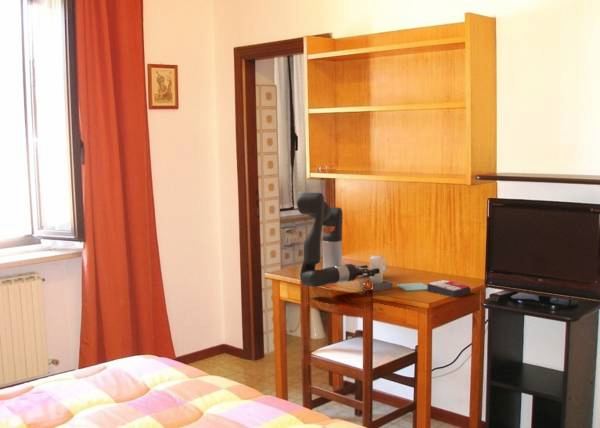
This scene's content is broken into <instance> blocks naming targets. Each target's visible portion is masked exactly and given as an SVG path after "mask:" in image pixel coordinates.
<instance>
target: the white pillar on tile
mask: <svg viewBox="0 0 600 428" xmlns="http://www.w3.org/2000/svg"><path fill="white" fill-rule="evenodd" d="M376 268H379V269H380V273H379V274H375V276H370V277H368V280H369V281H370V282H372V283H373V284H374V285H377V284H383V280H384V273H386V272H387V260H384V256H383V255H375V254H374V255H373V254H372V255H369V267H368V269H376Z"/></svg>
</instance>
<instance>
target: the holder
mask: <svg viewBox="0 0 600 428" xmlns="http://www.w3.org/2000/svg"><path fill="white" fill-rule="evenodd" d="M365 281H369V279H366V280H359V287H360V286H361V287H360V288H362V286H363V283H364V282H365ZM393 283H394V282H393V281H388V280H385V279H383V284H377V285H374V284H373V289H372V290H373V292H378V291H382V290H390V289H393V287H394V286H393V285H394V284H393ZM372 290H371V291H372Z"/></svg>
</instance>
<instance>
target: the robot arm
mask: <svg viewBox="0 0 600 428" xmlns="http://www.w3.org/2000/svg"><path fill="white" fill-rule="evenodd" d="M296 206H297V209H298V212H299V213H300V214H302V215H305V216H309V217H311V218H313V220H314V223H313V225H312V227H311V229H310V230H309V233H308V234H307V235H306V238H305V240H304V243H303V261H302V265H301V269H300V274H299V276H300V281H301V284H302V285H303V286H305V287H313V288H318V287H322V286H326V285H330V284H342V283H347V282H354V281H356V279H357V277H359V278H361V277H362V278H369V277H370V276H375V274H379V273H380V269H379V268H376V269H369V267H368V265H366V264H365V265H356V264H353V263H347V264H343V238H342V237H343V218H344V217H343V216H344V215H343V209H342V208H341V207H331V206H330V204H329V203H328V202H326V201H325V197H324V195H323V193H322V192H303V193H300V194H299V195H298V197H297V201H296ZM323 227H334V229H333V230H332V231H329V232H325V233H324V234H323V235H322V230H323ZM321 238H322V239H321ZM321 240H322V269H316V265H318V264H319V263H320V262H321Z"/></svg>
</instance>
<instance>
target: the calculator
mask: <svg viewBox="0 0 600 428" xmlns="http://www.w3.org/2000/svg"><path fill="white" fill-rule="evenodd" d="M426 286H427V290H426V292H429V293H433V294H439V295H443V296H447V297H449V298H456V297H457V298H458V297H462V296H466V295H470V294H471V287H470V286H469V285H465V284H462V283H458V282H454V281H450V280H446V279H442V280H438V281H433V282H429V283H427V285H426Z"/></svg>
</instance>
